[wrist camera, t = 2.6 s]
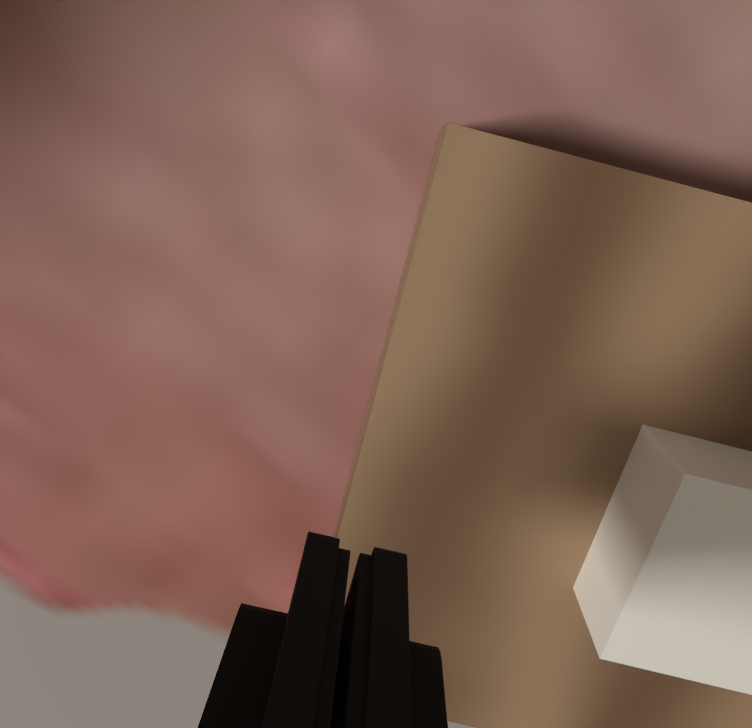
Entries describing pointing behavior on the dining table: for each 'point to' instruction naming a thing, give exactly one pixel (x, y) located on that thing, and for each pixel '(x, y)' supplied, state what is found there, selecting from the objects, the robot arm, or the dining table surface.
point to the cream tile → (675, 562)
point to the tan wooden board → (544, 415)
